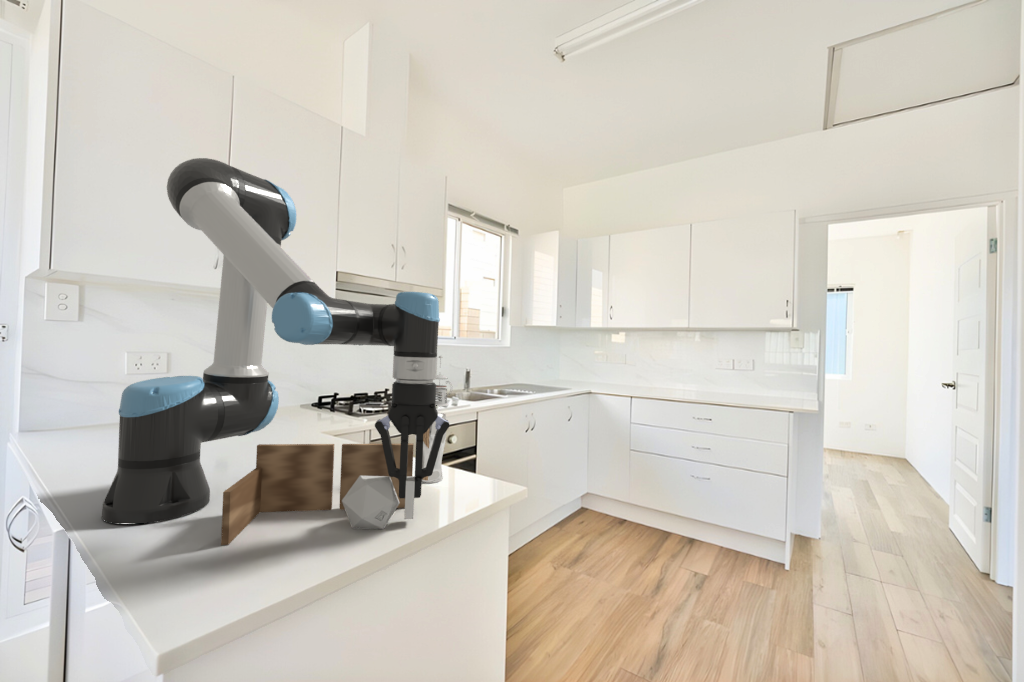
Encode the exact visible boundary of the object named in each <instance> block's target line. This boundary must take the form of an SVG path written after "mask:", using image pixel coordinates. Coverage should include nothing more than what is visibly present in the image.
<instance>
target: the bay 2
mask: <svg viewBox="0 0 1024 682" xmlns="http://www.w3.org/2000/svg"><path fill="white" fill-rule="evenodd" d="M391 444H392V449H393V453H394V458H395V463H396V468H398V469H400V448H401V443H391ZM414 447H415V445H414V443H410V442H408V462H407V477H410V476H413V473H414V472H413V470H414V469H413V468H414V467H413V466H414ZM340 458H341V459H340V460H341V462H340V482H339V485H340V486H339V487H340V488H339V508H338V510H340V511H343V510H345V508H344V506H343V503H342V499H343V498H344V497H345V495H346V494H347V493H348V491H349V490H350V488H351V487H352V486H353V484H354V483H355V482H356V480H357V479H358V477H359V476H389V474H388V469H387V464H386V459H385V455H384V450H383V445H382V443H342V444H341V457H340ZM390 478H391V480H392V483H393V486H394V489H395V491H396V494H397V497H398V500H399V505H398V506H397V508H396V509H405V498H399V480H398V479H397V478H395V477H390Z"/></svg>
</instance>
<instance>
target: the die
mask: <svg viewBox="0 0 1024 682" xmlns="http://www.w3.org/2000/svg"><path fill="white" fill-rule="evenodd" d="M342 503H343V506H344V508H345V513H346V516H347V519H348V521H349V523H350V526H351V529H360V530H361V529H367V530H385V528H386V526H387V524H388V523H389V521H390V520H391V518H392V516H393V514H394V513H395V511H396V509H398V508H397V506H398V505H399V500H398V497H397V494H396V491H395V489H394V486H393V483H392V480H391V478H390V476H359V477H358V479H357V480H356V482H355V483H354V484H353V486H352V487H351V488H350V490H349V491H348V493H347V494H346V495H345V497H344V498H343V499H342Z"/></svg>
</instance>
